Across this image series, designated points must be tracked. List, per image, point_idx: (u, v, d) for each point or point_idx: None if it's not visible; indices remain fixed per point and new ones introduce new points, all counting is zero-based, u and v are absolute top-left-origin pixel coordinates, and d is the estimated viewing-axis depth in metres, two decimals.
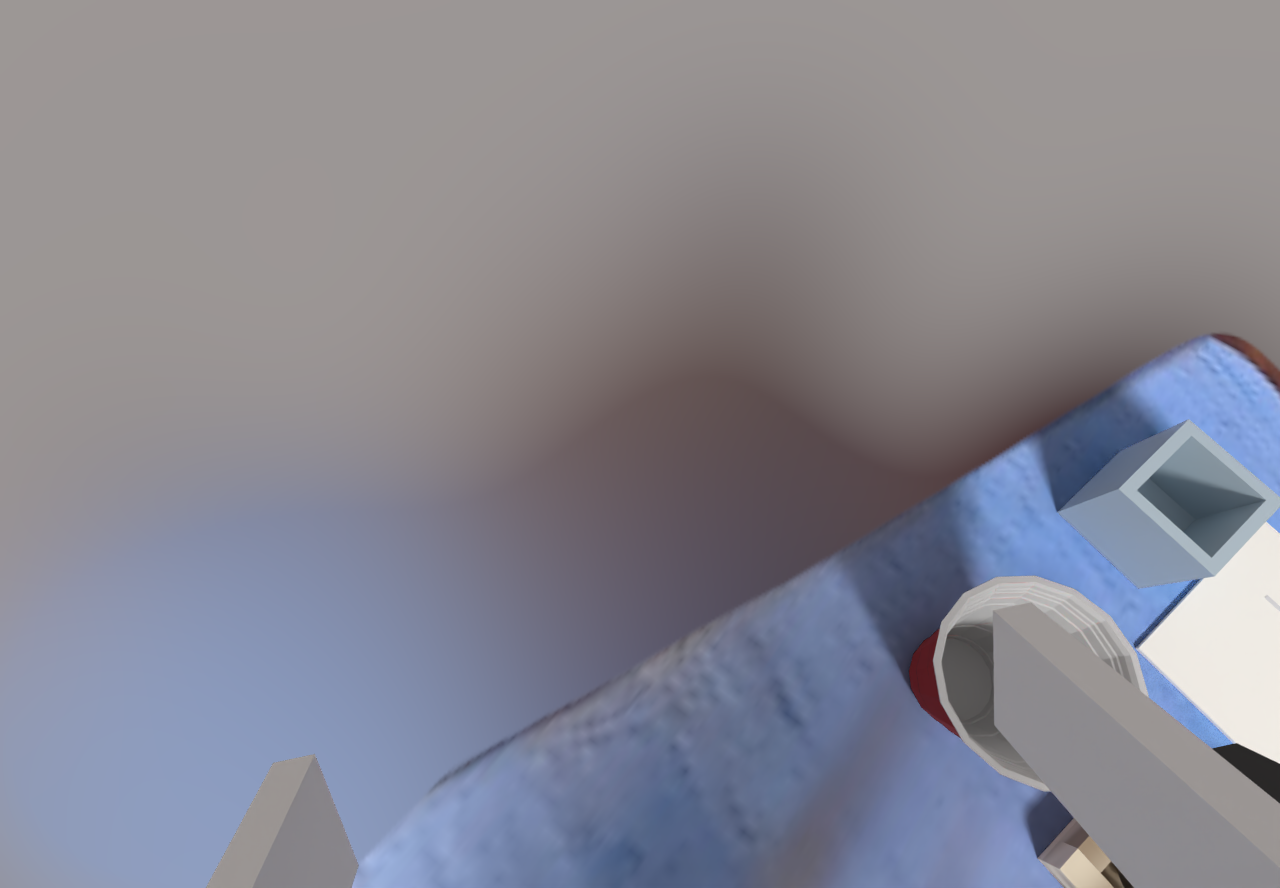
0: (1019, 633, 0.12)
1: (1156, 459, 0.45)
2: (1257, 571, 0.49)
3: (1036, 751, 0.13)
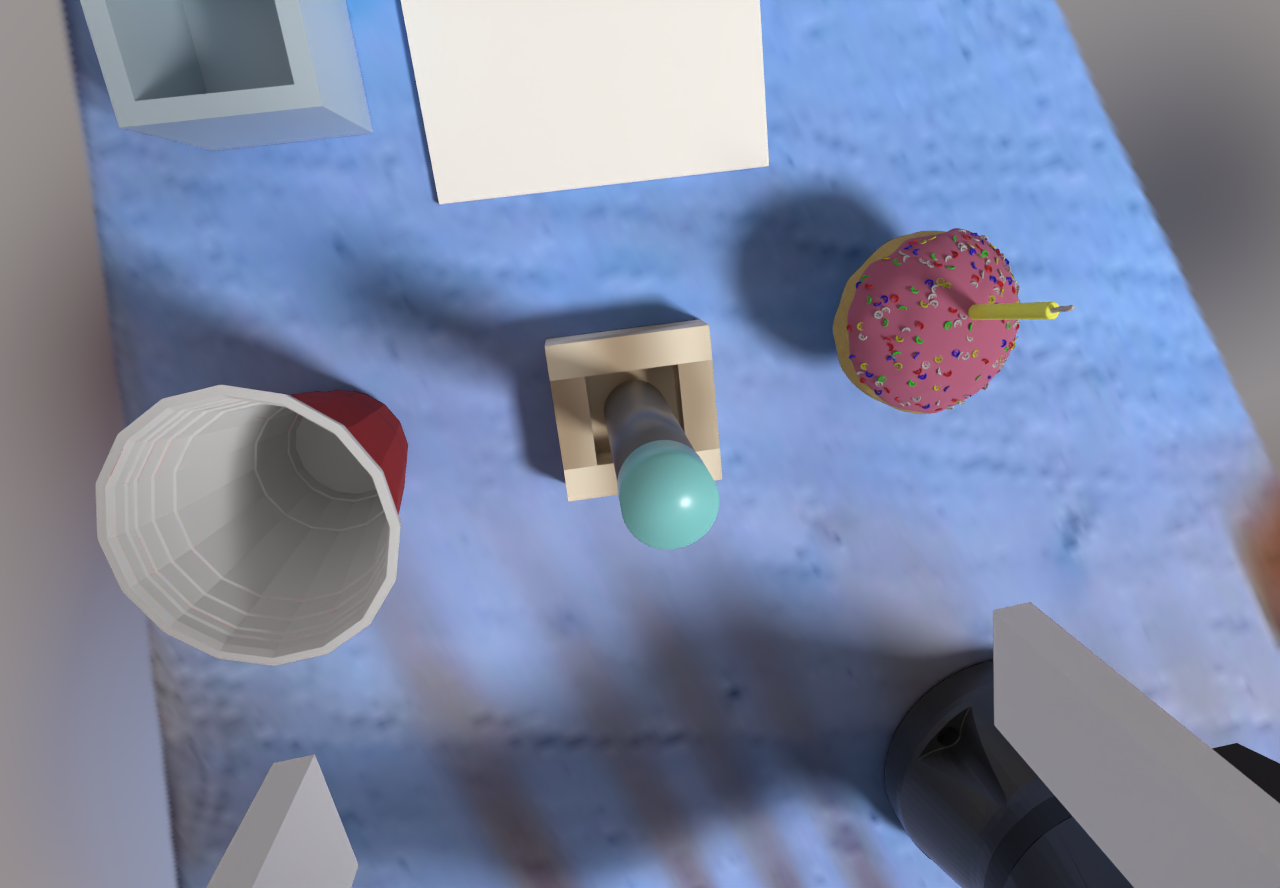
0: (1019, 633, 0.12)
1: (96, 21, 0.24)
2: None
3: (1035, 750, 0.13)
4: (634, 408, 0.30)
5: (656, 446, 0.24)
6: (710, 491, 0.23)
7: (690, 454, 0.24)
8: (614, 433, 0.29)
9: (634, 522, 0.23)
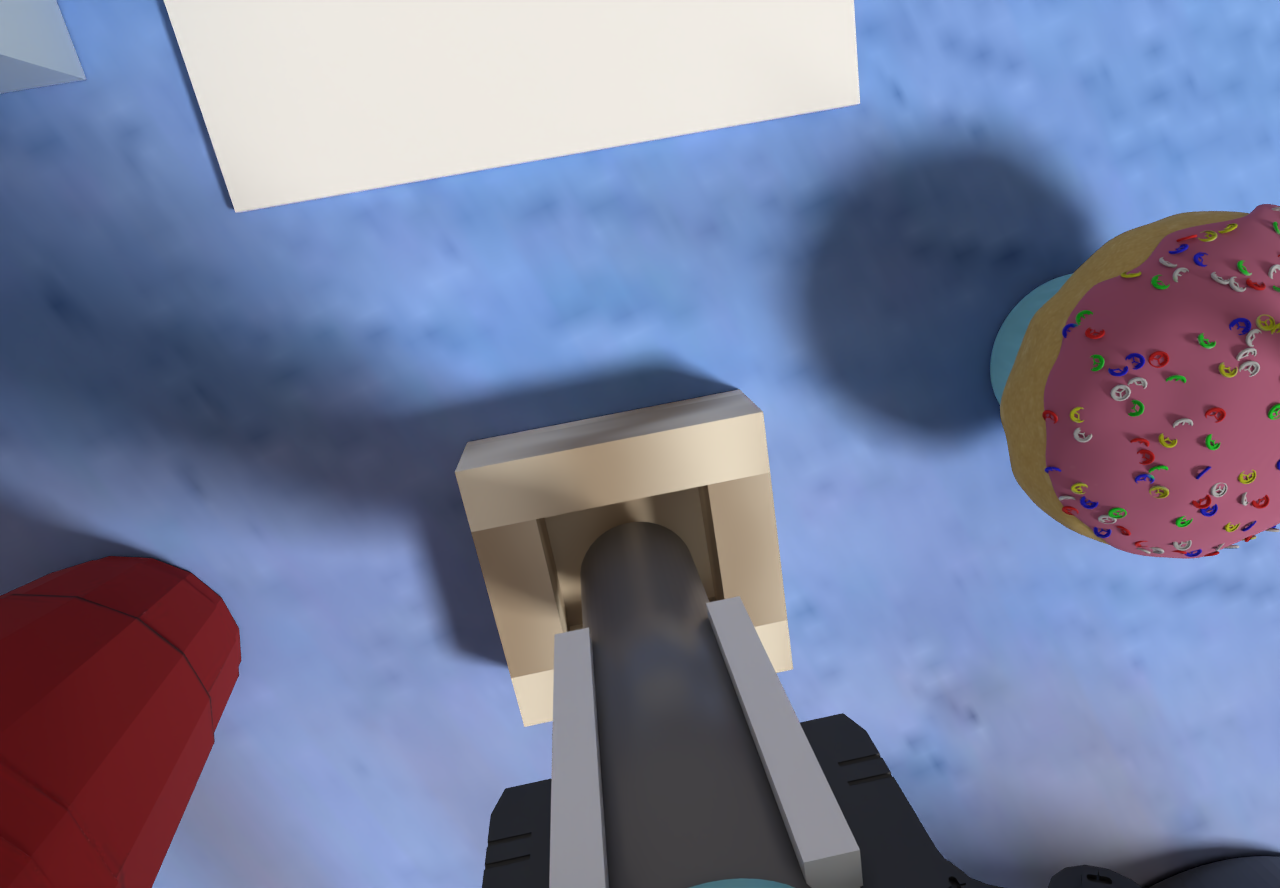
0: (714, 622, 0.14)
1: None
2: None
3: None
4: (635, 644, 0.14)
5: None
6: None
7: None
8: None
9: None
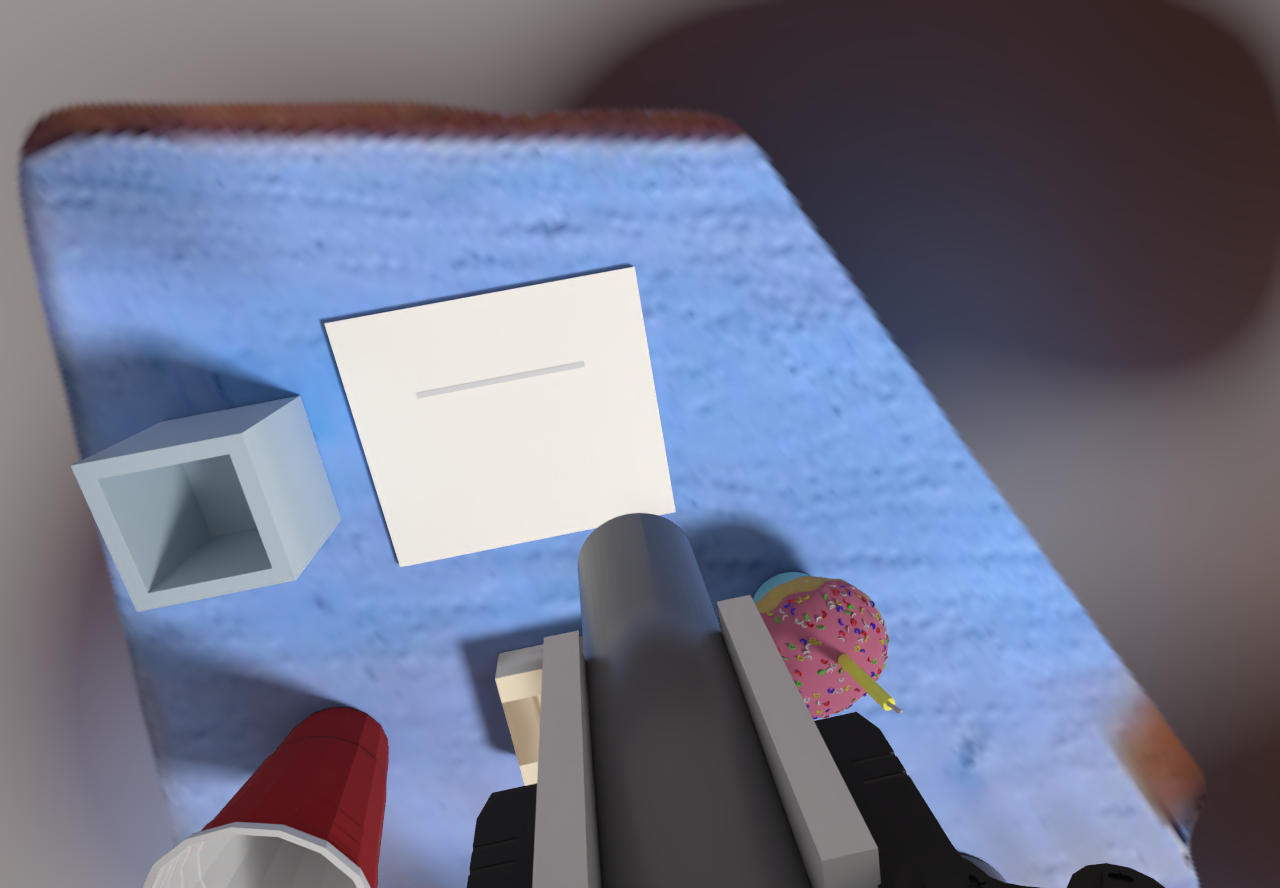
0: (725, 621, 0.14)
1: (114, 545, 0.31)
2: (385, 381, 0.36)
3: None
4: (609, 678, 0.14)
5: None
6: None
7: None
8: None
9: None
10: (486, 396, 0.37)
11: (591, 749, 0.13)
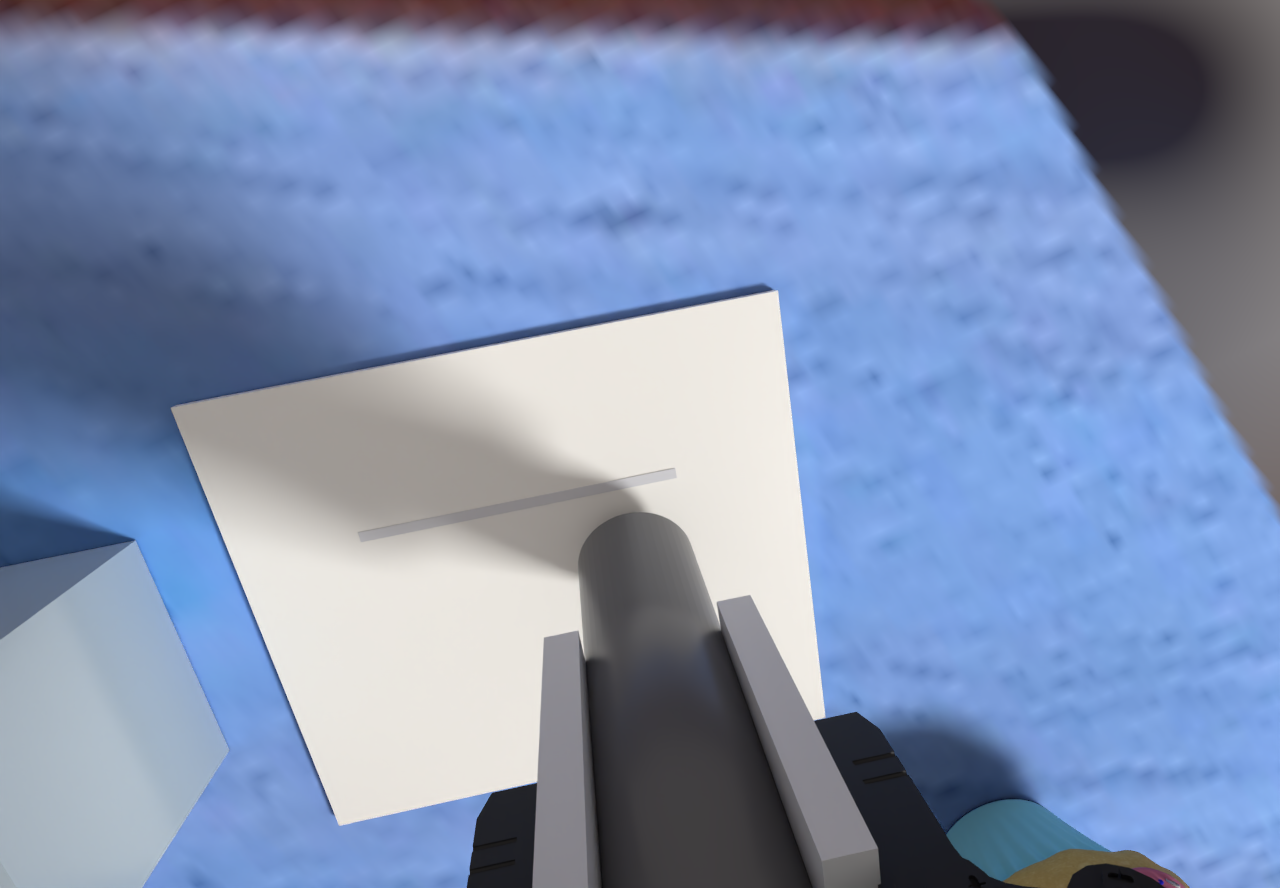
0: (725, 621, 0.14)
1: None
2: (297, 512, 0.19)
3: None
4: (609, 677, 0.14)
5: None
6: None
7: None
8: None
9: None
10: (492, 534, 0.20)
11: (591, 749, 0.13)
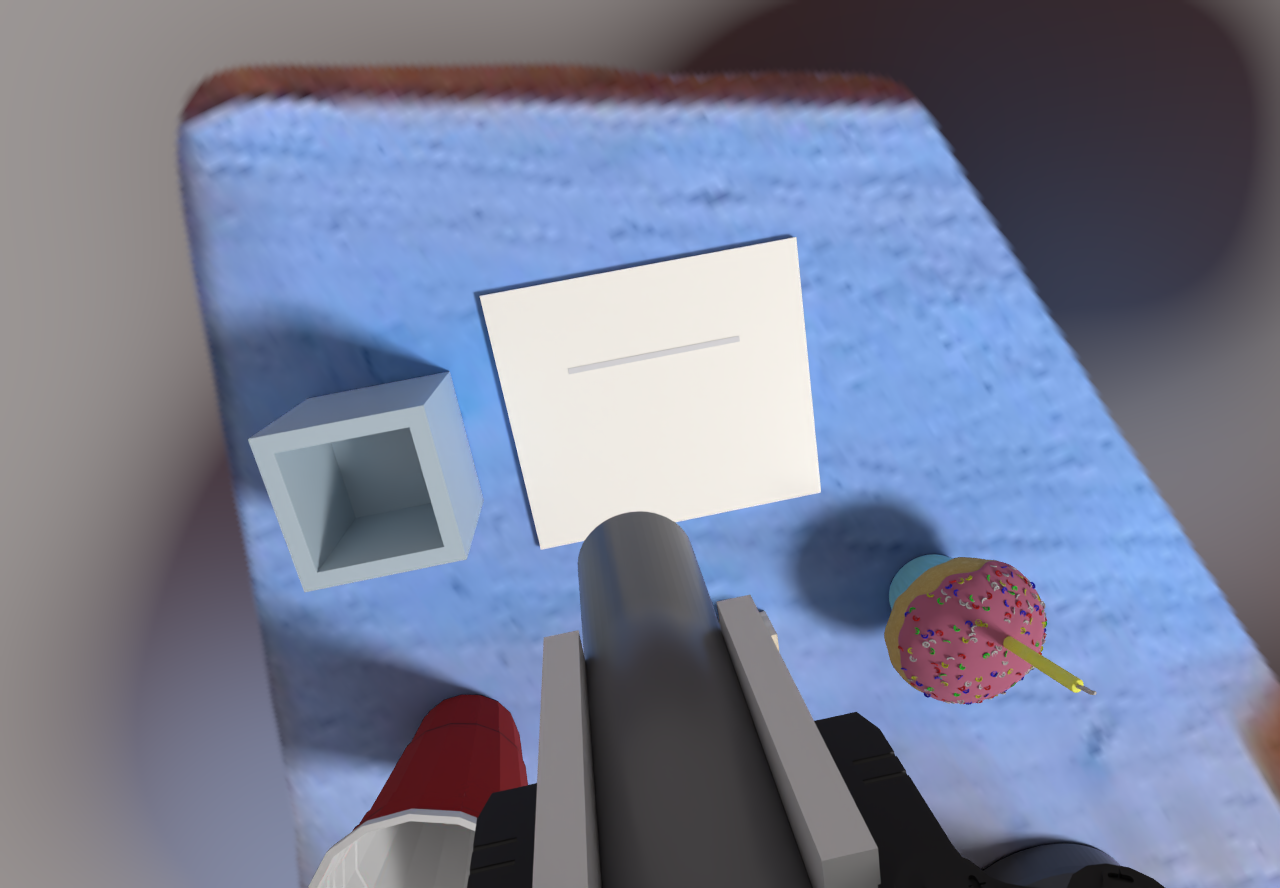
0: (725, 621, 0.14)
1: (287, 522, 0.30)
2: (537, 356, 0.35)
3: None
4: (609, 676, 0.14)
5: None
6: None
7: None
8: None
9: None
10: (638, 372, 0.36)
11: (591, 749, 0.13)
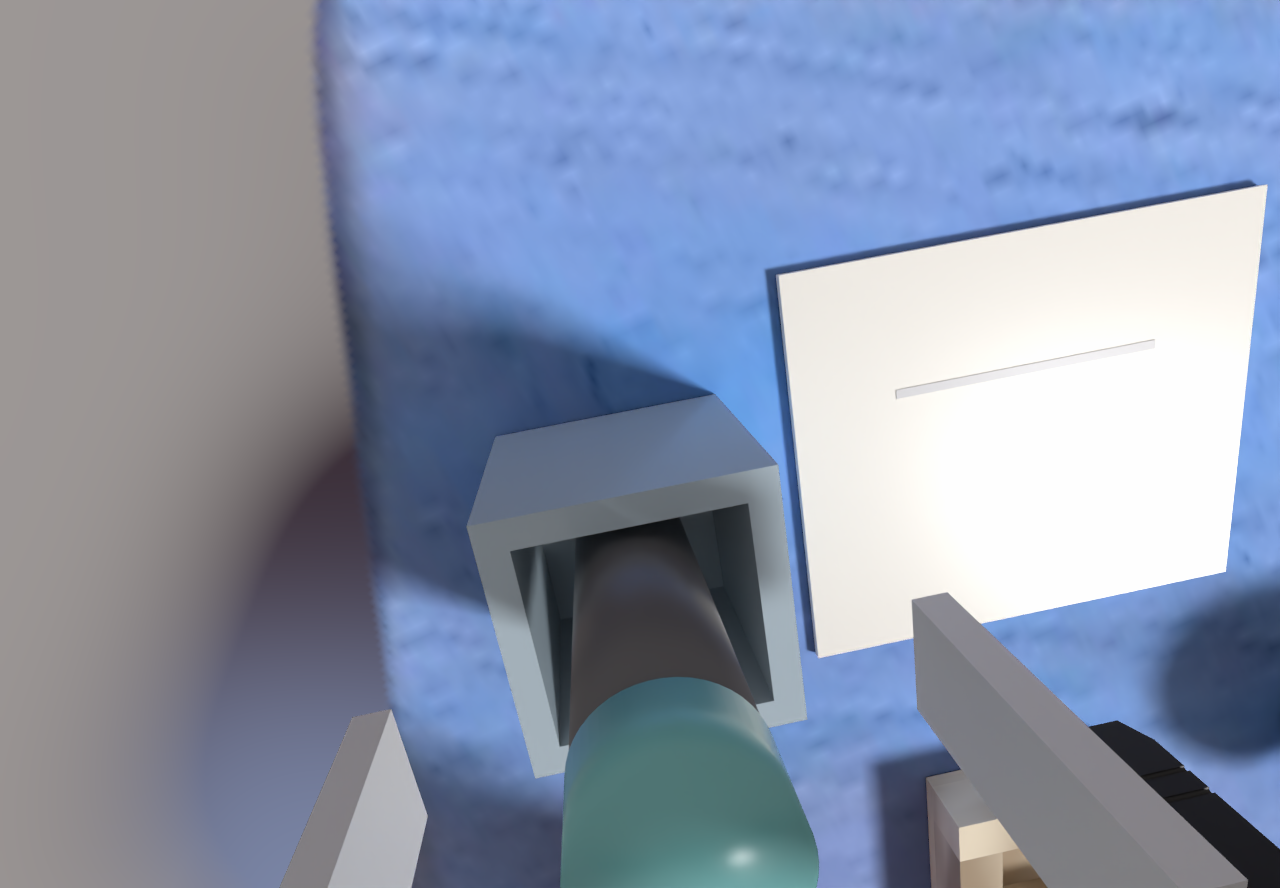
0: (931, 620, 0.13)
1: (519, 666, 0.17)
2: (852, 371, 0.23)
3: (949, 731, 0.13)
4: (590, 571, 0.16)
5: (605, 727, 0.10)
6: (770, 809, 0.09)
7: (683, 724, 0.09)
8: None
9: None
10: (999, 395, 0.23)
11: (373, 857, 0.12)
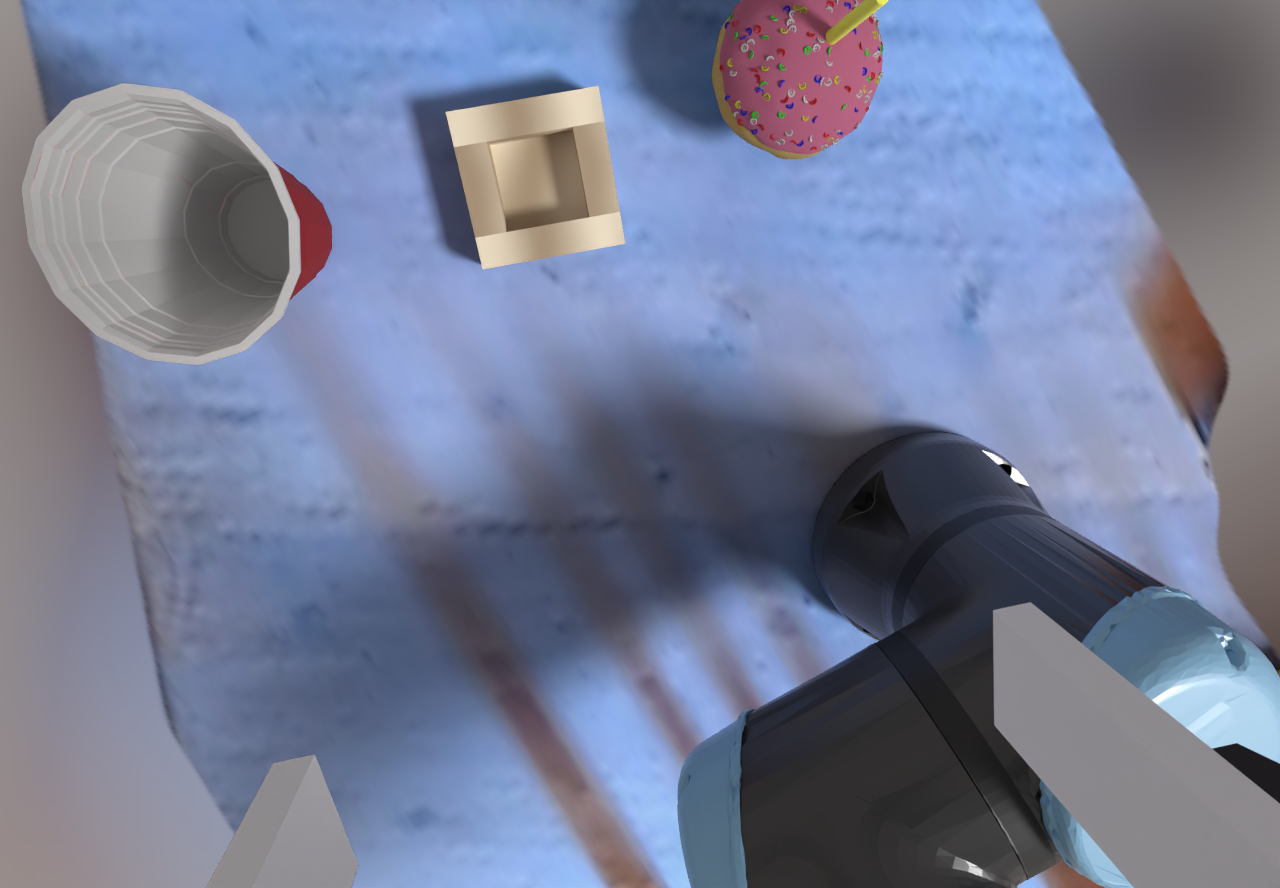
0: (1019, 633, 0.12)
1: None
2: None
3: (1036, 751, 0.13)
4: None
5: None
6: None
7: None
8: None
9: None
10: None
11: None
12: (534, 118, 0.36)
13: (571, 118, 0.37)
